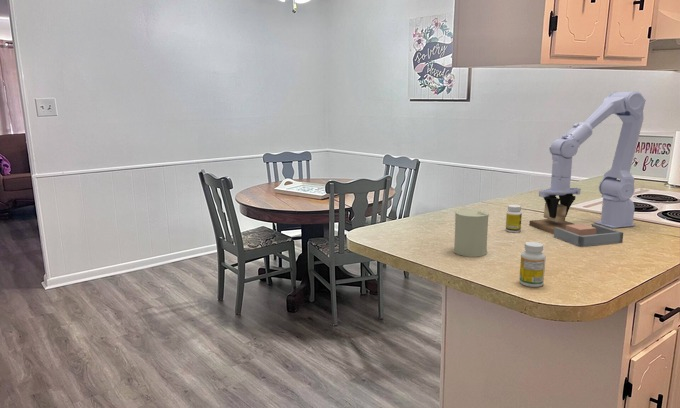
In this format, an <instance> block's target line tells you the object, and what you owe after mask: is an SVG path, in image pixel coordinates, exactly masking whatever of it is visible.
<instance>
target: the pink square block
mask: <svg viewBox="0 0 680 408" xmlns="http://www.w3.org/2000/svg"><path fill="white" fill-rule="evenodd" d="M566 231H569V232H572V233H575V234H578V235H581V236H585V235H595V234H596V228H594V227H592V225H587V224H585V223H573V224H572V225H566Z"/></svg>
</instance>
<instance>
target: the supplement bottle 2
mask: <svg viewBox="0 0 680 408" xmlns="http://www.w3.org/2000/svg"><path fill="white" fill-rule="evenodd" d="M543 251H544V244H543V243H540V242H537V241H527V242H524V250H523V251H522V252H521V255H520V267H519V268H520V269H519V283H520V284H521V285H522V286H523V285H524V286H526V287H530V288H540V287H542V286H543V285H544V282H545V269H546V254H545V253H544V252H543Z"/></svg>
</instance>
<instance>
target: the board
mask: <svg viewBox="0 0 680 408" xmlns="http://www.w3.org/2000/svg"><path fill="white" fill-rule="evenodd" d="M572 224H574V223H573V222H570V221H566V220H565V221H562V222H554V221H552V220H549V219H547V218H544V219H532V220H529V224H528V225H529V226H530V227H533V228H535V229H538V230H541V231H543V232H547V233H549V234H552V235H554V228H555V227H558V228H561V229H563V230H566V225H572Z"/></svg>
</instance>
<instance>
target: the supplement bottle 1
mask: <svg viewBox="0 0 680 408" xmlns="http://www.w3.org/2000/svg"><path fill="white" fill-rule="evenodd" d="M521 210H522V206H521V205H519V204H509V205H507V210H506V214H505V217H506V218H505V219H506V220H505V231H506V232H509V233H520V232H521V230H522V216H523V214H522V213H523V212H522V211H521Z"/></svg>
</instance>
